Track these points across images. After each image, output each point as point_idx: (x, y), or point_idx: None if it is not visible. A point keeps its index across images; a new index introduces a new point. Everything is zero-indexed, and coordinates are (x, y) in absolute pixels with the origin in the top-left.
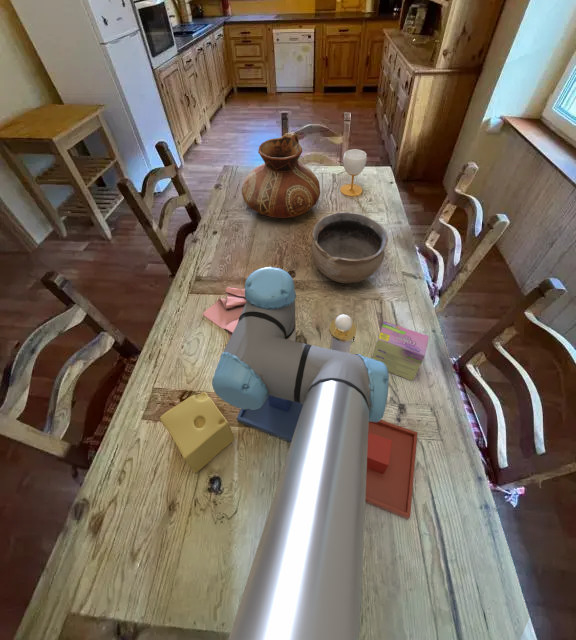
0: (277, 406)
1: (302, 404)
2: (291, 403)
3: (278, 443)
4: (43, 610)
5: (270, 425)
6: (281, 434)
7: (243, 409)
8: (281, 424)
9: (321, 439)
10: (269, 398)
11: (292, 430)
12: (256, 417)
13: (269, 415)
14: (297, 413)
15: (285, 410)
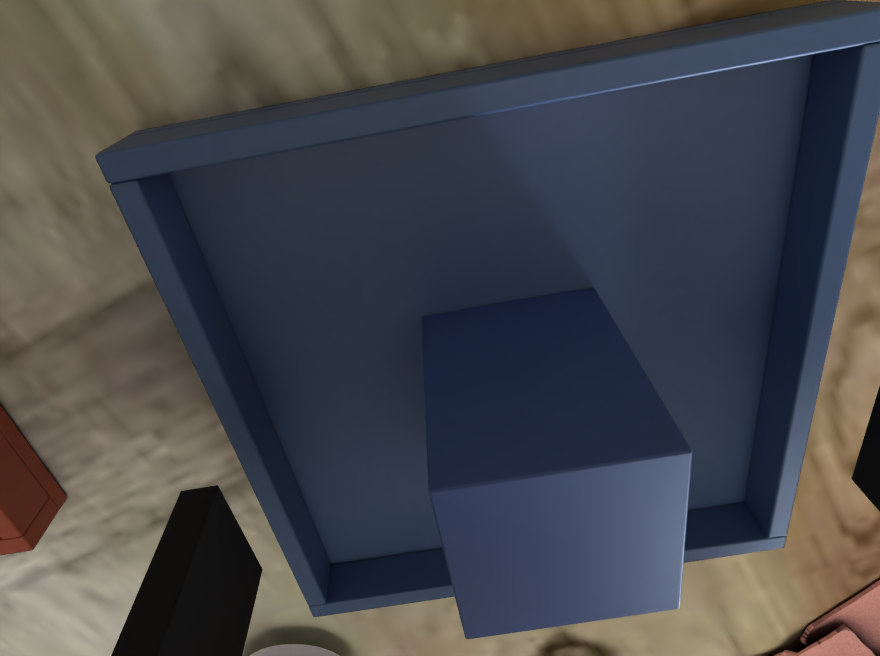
0: (520, 322)
1: (348, 412)
2: None
3: (347, 36)
4: None
5: (502, 145)
6: (339, 123)
7: (848, 136)
8: (413, 205)
9: None
10: (631, 382)
11: (295, 211)
12: (665, 139)
13: (554, 217)
14: (343, 344)
15: (440, 322)
